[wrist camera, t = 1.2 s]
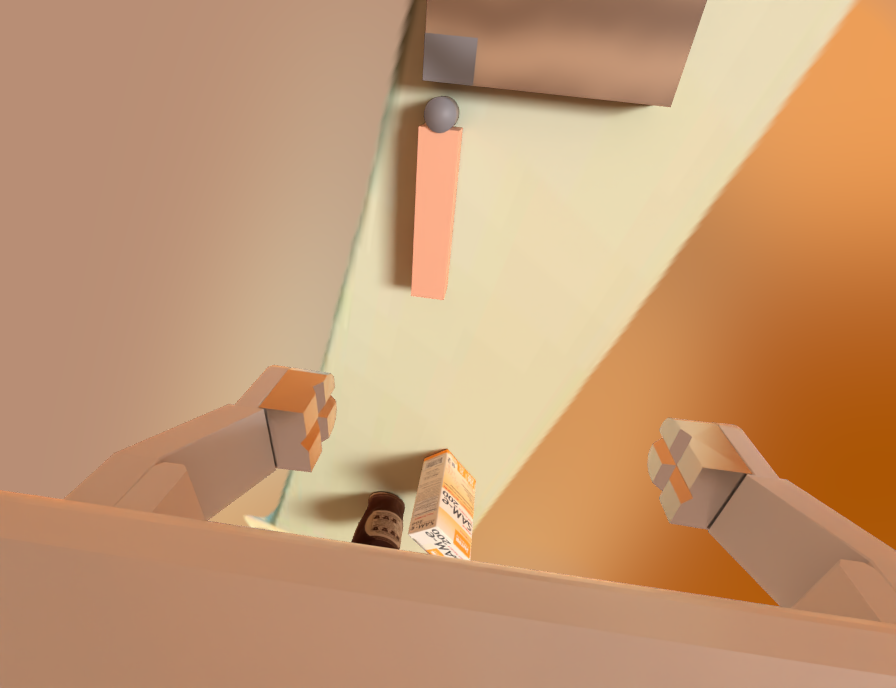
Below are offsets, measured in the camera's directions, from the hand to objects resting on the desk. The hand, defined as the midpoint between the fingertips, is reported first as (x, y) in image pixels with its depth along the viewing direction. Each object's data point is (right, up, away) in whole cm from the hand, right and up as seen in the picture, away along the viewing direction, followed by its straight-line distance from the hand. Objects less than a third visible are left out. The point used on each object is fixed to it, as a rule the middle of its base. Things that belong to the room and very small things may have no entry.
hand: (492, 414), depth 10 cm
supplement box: (-1, -18, +53) cm, 56 cm away
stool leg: (-2, +16, +31) cm, 35 cm away
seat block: (+7, +28, +22) cm, 36 cm away
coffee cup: (-12, -25, +59) cm, 65 cm away
